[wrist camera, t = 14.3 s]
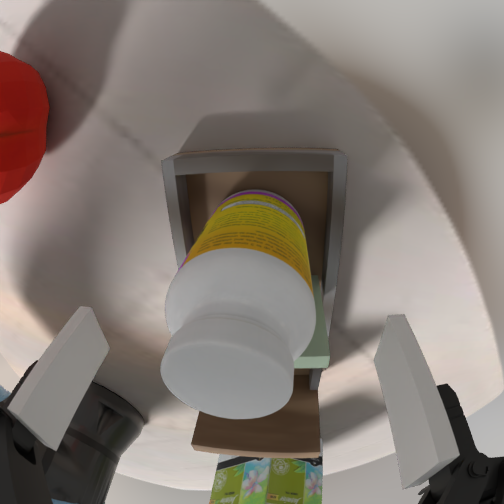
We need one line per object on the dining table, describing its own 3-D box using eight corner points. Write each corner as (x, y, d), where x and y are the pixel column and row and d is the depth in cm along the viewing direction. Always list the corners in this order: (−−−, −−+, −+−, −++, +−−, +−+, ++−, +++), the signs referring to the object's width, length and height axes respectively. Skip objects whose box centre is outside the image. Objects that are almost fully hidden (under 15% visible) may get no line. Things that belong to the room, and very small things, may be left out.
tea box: (272, 420, 34) (264, 517, 21) (323, 436, 36) (324, 520, 23) (219, 446, 41) (204, 518, 28) (265, 460, 43) (258, 527, 30)
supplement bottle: (209, 184, 19) (110, 301, 8) (308, 189, 18) (345, 324, 7) (212, 269, 22) (155, 416, 11) (298, 276, 22) (305, 434, 10)
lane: (314, 375, 28) (318, 457, 20) (213, 372, 30) (194, 450, 21) (337, 149, 18) (388, 187, 9) (177, 153, 19) (97, 194, 10)
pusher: (312, 325, 23) (318, 404, 16) (210, 322, 24) (186, 397, 17) (317, 275, 21) (330, 356, 14) (202, 273, 22) (169, 348, 15)
